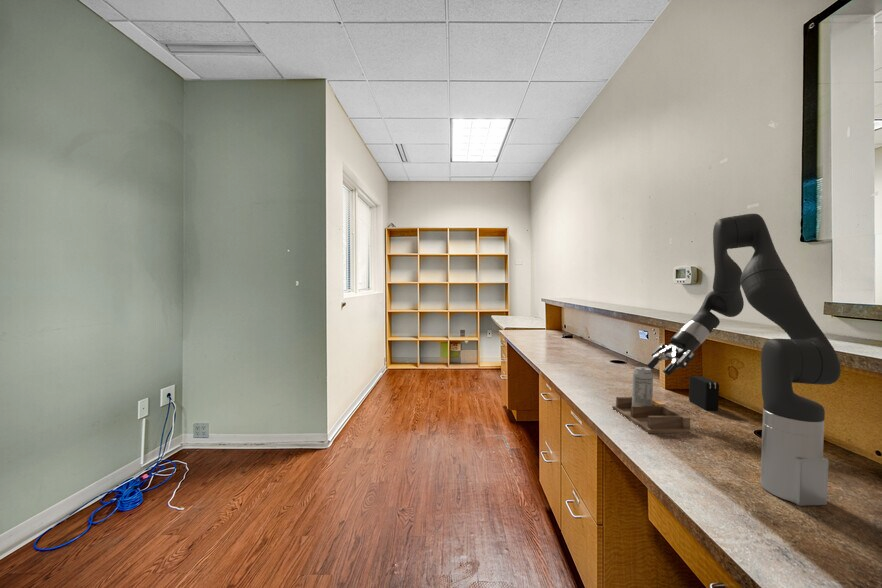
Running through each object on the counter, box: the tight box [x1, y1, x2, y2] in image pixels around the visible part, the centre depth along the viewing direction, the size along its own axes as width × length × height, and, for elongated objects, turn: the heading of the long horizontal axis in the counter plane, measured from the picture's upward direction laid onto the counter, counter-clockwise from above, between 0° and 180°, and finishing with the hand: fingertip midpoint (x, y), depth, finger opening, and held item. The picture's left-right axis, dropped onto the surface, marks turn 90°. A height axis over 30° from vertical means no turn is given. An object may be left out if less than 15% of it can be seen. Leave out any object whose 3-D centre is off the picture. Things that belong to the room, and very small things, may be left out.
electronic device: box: [688, 375, 720, 411], centre depth 128 cm, size 4×10×10 cm, turn 174°
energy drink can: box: [631, 366, 654, 406], centre depth 118 cm, size 6×6×15 cm
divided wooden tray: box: [611, 396, 691, 434], centre depth 114 cm, size 20×13×5 cm, turn 3°
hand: (656, 370), depth 119 cm, fingers open, 8 cm apart
